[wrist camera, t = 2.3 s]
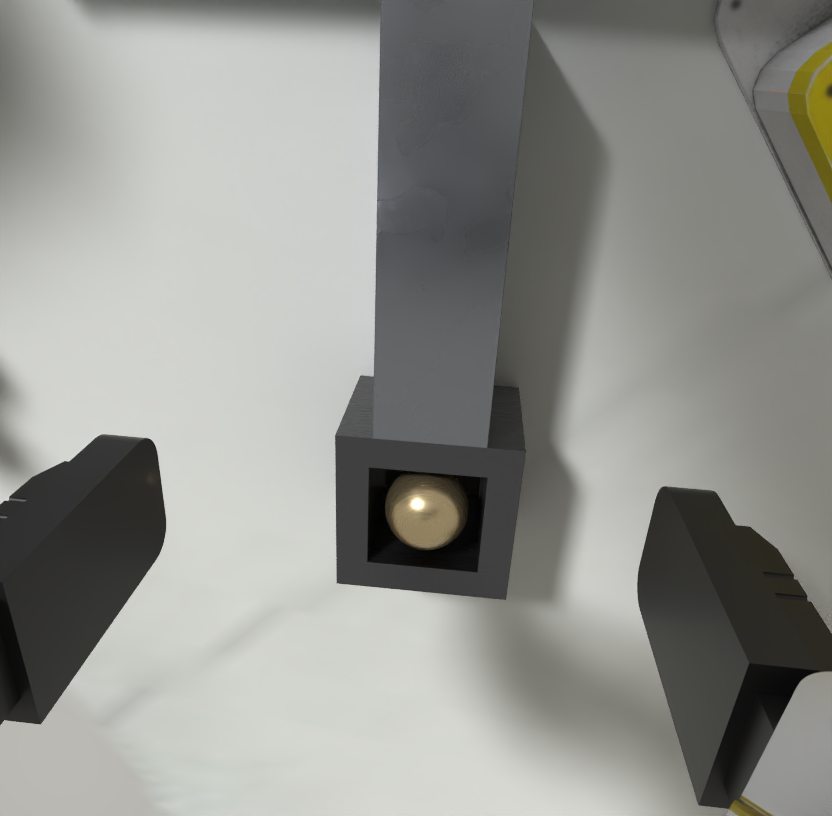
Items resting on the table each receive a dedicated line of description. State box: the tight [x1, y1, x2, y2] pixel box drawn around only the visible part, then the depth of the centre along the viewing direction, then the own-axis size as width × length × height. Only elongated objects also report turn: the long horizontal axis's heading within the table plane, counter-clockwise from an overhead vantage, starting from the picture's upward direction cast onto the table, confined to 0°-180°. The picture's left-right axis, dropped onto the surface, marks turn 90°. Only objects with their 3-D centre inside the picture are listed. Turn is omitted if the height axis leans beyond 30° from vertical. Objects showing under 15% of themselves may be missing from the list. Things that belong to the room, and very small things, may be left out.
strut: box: [335, 0, 534, 600], centre depth 18 cm, size 15×5×4 cm, turn 177°
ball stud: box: [385, 471, 469, 550], centre depth 20 cm, size 2×2×4 cm
